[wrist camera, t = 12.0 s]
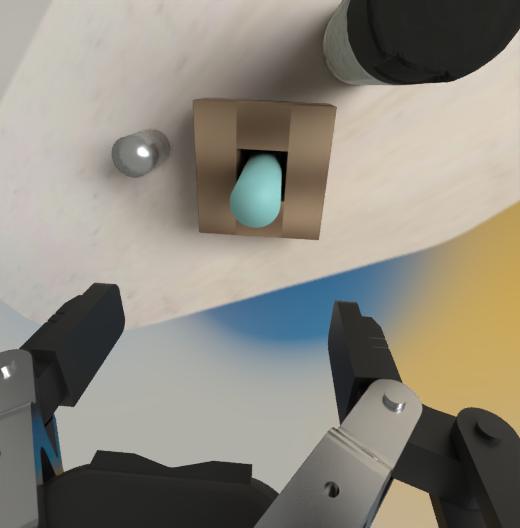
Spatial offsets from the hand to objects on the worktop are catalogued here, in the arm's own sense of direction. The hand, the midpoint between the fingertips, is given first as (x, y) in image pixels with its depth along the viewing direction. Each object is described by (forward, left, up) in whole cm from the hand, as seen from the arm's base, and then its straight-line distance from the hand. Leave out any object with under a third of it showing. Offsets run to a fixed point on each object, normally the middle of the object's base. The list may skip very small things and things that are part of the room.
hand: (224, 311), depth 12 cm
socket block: (0, 0, -27) cm, 27 cm away
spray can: (-11, +8, -27) cm, 30 cm away
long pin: (0, 0, -27) cm, 27 cm away
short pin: (-1, -12, -27) cm, 29 cm away
